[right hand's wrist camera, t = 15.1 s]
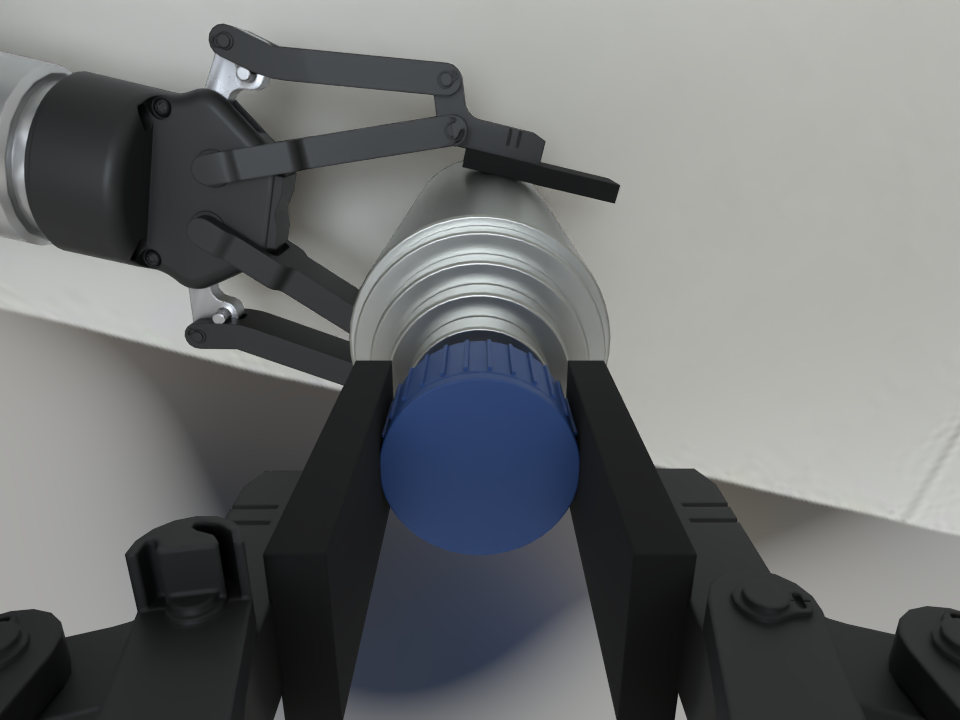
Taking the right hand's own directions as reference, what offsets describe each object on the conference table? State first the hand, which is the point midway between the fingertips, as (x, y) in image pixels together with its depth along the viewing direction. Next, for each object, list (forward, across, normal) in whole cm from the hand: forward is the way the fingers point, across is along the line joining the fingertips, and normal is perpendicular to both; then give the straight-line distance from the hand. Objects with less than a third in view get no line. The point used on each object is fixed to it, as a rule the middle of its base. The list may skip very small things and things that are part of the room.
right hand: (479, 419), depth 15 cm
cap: (-2, 0, 0) cm, 2 cm away
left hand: (+17, -5, +1) cm, 18 cm away
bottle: (+24, 0, 0) cm, 24 cm away
